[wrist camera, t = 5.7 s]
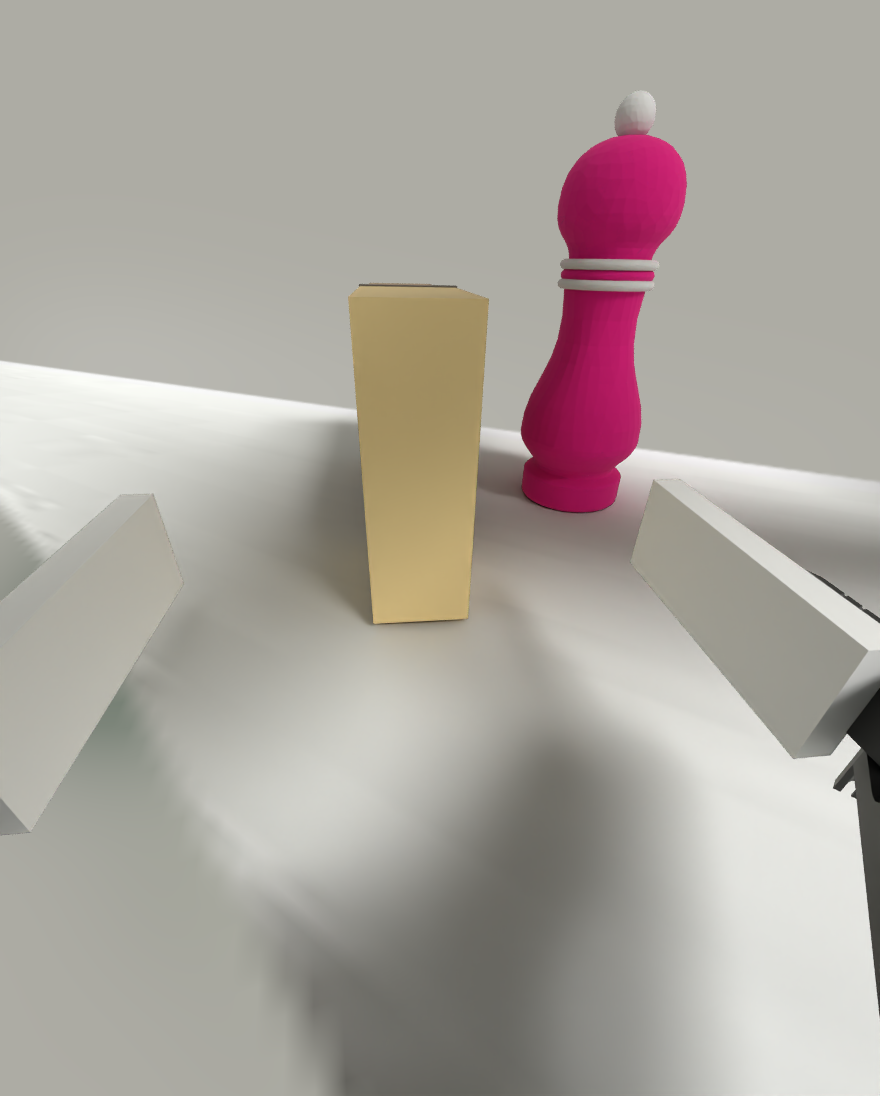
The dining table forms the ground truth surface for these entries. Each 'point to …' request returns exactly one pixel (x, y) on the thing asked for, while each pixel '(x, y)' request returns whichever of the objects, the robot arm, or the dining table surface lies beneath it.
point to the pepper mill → (601, 312)
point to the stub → (419, 443)
